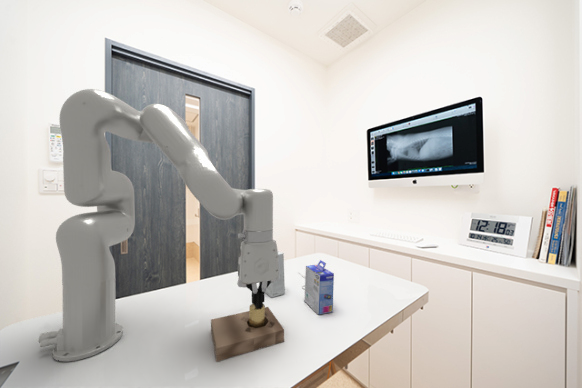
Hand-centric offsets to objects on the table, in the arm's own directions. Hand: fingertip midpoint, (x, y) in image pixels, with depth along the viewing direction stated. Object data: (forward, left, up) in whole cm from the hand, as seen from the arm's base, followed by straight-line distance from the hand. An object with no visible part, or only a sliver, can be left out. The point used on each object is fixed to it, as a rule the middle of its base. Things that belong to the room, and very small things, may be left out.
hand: (258, 305), depth 59 cm
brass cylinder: (0, 0, -7) cm, 7 cm away
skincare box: (+12, +21, -8) cm, 25 cm away
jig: (-3, 0, -7) cm, 8 cm away
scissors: (+30, +25, -8) cm, 40 cm away
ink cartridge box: (+22, +5, -8) cm, 24 cm away
